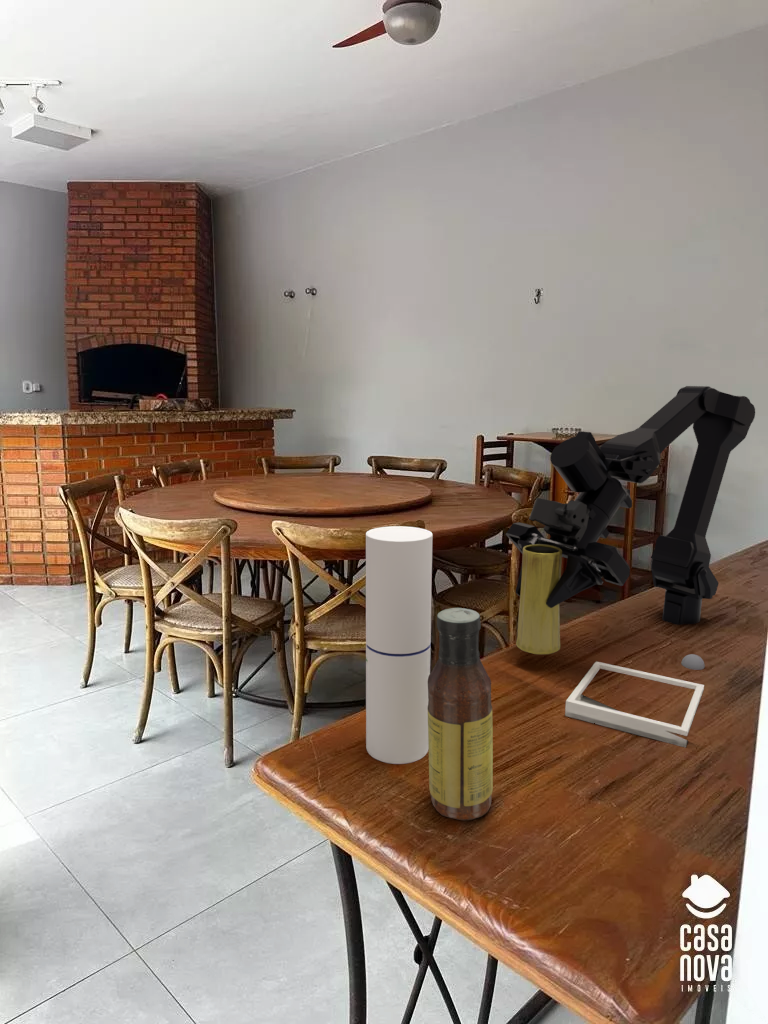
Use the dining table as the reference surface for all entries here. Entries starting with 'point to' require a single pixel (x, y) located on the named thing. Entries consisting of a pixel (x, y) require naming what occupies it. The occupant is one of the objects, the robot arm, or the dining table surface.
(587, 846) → the dining table surface
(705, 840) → the dining table surface
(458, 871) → the dining table surface
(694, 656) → the mixing ball
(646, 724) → the tray
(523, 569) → the vase
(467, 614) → the sauce bottle
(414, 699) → the cylindrical container
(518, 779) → the dining table surface
